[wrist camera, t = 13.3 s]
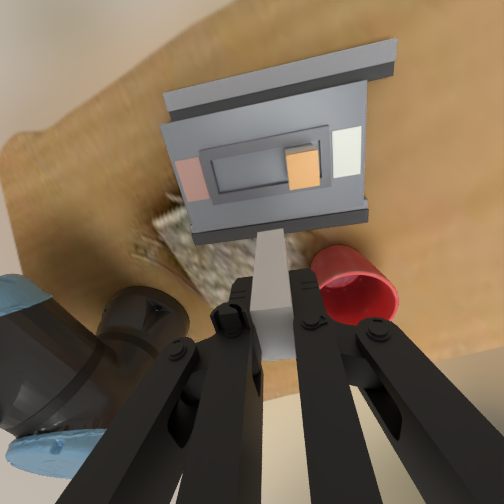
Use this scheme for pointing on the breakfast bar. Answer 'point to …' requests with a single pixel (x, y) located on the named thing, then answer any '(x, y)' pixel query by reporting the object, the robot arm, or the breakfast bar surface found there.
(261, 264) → the robot arm
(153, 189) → the breakfast bar surface
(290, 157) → the lever
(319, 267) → the flower pot
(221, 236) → the long gray bar
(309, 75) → the grey long bar
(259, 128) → the breaker panel
